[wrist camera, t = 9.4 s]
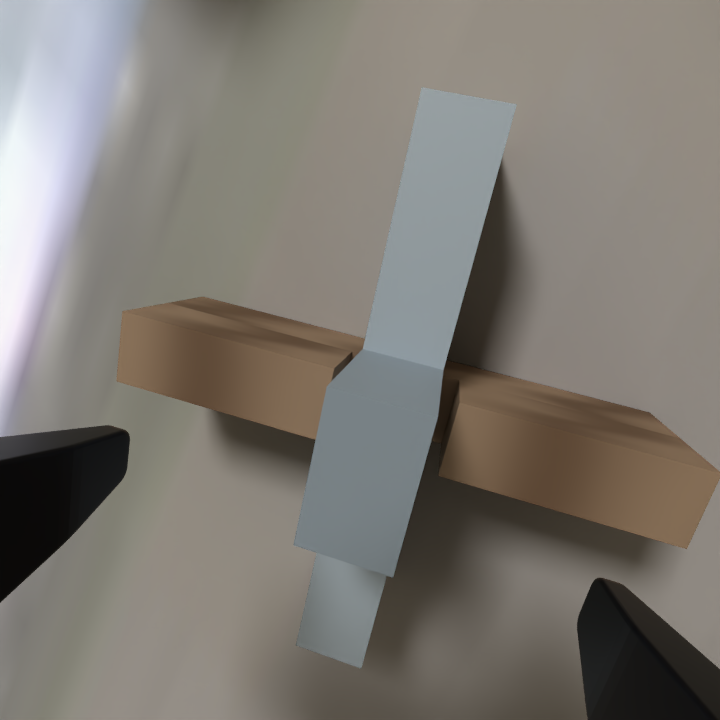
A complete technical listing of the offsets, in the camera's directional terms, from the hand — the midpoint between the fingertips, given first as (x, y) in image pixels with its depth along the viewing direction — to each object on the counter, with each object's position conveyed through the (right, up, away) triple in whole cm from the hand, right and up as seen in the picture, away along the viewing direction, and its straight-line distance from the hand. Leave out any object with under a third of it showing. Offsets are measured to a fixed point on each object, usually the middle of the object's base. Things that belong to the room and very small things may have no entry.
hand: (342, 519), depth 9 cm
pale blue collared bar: (+2, +2, +10) cm, 11 cm away
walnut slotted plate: (+2, +2, +10) cm, 11 cm away
